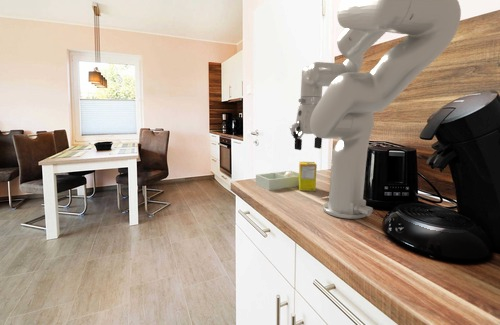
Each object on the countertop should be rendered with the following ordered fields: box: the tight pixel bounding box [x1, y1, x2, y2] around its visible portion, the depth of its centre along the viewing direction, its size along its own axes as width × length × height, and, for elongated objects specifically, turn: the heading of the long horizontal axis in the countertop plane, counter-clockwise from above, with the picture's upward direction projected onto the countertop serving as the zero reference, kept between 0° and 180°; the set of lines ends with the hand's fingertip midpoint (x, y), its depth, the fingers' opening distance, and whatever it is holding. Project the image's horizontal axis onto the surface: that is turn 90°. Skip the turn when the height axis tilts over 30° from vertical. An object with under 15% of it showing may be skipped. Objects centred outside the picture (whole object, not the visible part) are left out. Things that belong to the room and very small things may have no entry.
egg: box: [284, 170, 295, 177], centre depth 109 cm, size 5×5×5 cm
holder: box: [255, 170, 299, 191], centre depth 107 cm, size 10×18×5 cm, turn 119°
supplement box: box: [298, 161, 317, 192], centre depth 100 cm, size 6×6×11 cm
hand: (308, 148), depth 99 cm, fingers open, 9 cm apart
